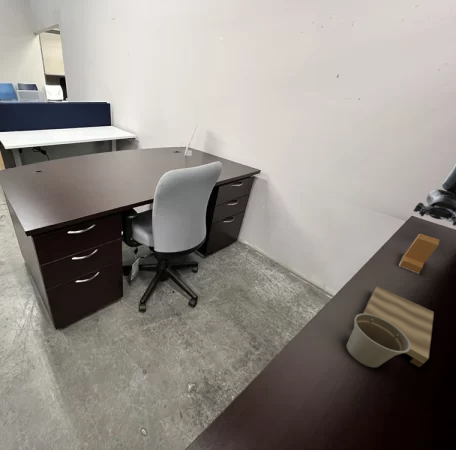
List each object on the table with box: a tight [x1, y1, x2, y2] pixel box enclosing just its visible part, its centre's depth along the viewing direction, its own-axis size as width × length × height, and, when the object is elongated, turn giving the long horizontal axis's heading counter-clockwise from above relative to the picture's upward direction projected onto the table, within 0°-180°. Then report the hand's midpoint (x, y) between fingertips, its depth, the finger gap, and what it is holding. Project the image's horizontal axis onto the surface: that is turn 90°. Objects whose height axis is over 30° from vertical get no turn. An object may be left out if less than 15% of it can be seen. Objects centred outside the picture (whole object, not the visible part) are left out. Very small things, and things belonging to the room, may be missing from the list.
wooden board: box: [362, 286, 435, 368], centre depth 62 cm, size 20×12×4 cm, turn 131°
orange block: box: [398, 233, 440, 274], centre depth 85 cm, size 10×5×11 cm, turn 130°
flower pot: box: [346, 313, 411, 368], centre depth 53 cm, size 9×9×9 cm
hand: (439, 218), depth 88 cm, fingers open, 8 cm apart
